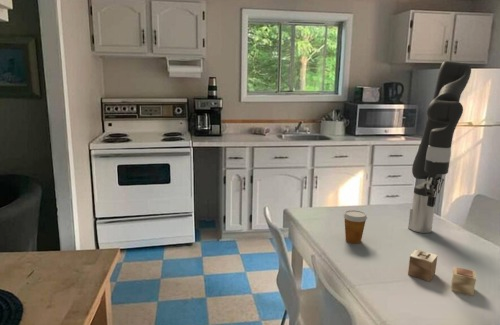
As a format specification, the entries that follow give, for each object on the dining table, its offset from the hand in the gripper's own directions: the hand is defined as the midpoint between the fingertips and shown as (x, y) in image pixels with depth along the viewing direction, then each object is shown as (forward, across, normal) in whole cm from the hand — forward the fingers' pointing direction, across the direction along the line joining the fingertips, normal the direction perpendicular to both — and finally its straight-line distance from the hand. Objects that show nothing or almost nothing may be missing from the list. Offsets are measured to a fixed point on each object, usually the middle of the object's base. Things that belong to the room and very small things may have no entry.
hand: (430, 206), depth 134 cm
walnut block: (+15, +10, +3) cm, 18 cm away
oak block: (+22, +10, +16) cm, 29 cm away
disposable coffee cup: (+23, +1, -28) cm, 36 cm away
